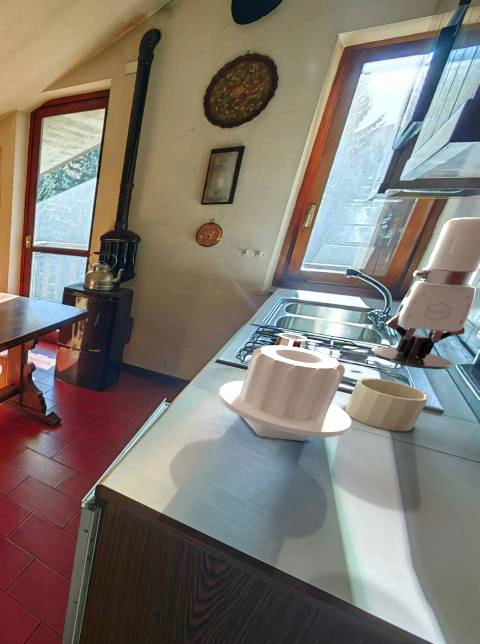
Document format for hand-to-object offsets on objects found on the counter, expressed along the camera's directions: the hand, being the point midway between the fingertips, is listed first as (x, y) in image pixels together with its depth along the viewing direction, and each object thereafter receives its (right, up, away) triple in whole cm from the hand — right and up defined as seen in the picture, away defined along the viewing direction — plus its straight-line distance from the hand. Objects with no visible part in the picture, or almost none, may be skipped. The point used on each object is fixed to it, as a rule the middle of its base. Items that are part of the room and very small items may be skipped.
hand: (410, 355), depth 93 cm
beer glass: (-12, -8, +26) cm, 30 cm away
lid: (0, -1, 0) cm, 1 cm away
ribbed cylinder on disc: (-31, -18, +3) cm, 36 cm away
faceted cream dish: (-1, -16, +7) cm, 17 cm away
